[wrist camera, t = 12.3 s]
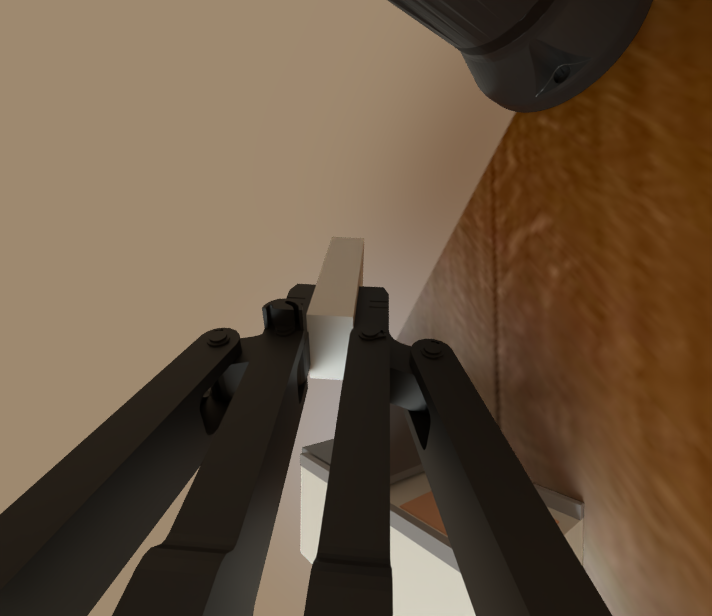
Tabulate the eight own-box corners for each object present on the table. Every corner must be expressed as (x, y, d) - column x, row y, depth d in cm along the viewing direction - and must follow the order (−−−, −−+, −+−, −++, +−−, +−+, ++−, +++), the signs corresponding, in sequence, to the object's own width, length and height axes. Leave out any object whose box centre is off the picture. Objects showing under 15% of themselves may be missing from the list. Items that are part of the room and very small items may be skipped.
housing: (390, 428, 51) (300, 453, 42) (584, 503, 33) (495, 576, 24) (389, 510, 52) (299, 552, 43) (580, 630, 33) (492, 751, 24)
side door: (378, 361, 52) (303, 371, 44) (447, 375, 43) (367, 389, 35) (377, 432, 52) (302, 454, 44) (446, 461, 43) (366, 494, 35)
